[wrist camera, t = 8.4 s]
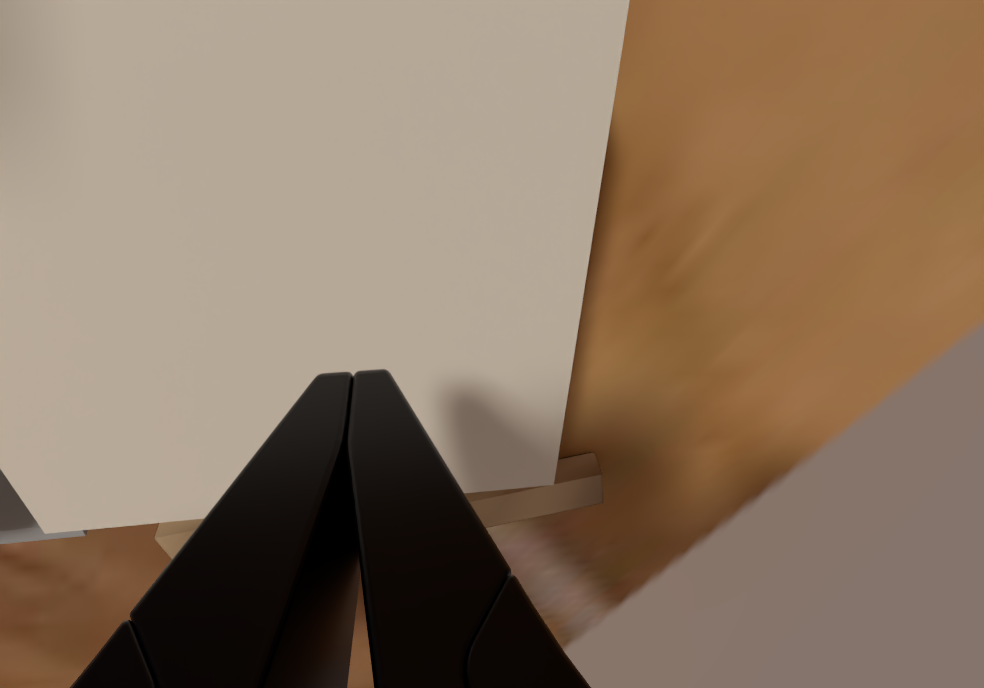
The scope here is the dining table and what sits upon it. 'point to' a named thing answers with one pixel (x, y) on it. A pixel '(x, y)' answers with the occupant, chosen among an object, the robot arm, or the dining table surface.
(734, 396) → the dining table surface
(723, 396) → the dining table surface
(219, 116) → the white flat box
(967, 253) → the dining table surface
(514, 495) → the wooden spatula
